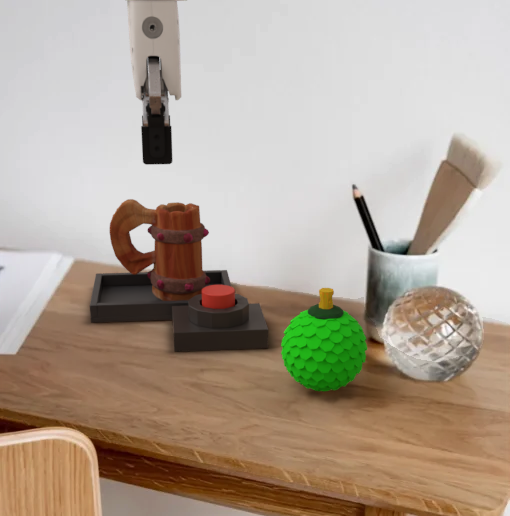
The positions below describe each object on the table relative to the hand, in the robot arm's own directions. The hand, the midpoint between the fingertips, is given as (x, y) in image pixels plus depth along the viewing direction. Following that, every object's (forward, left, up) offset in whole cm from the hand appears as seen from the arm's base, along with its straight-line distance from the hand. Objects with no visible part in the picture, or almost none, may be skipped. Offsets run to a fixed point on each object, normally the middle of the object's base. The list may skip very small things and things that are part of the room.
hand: (157, 155), depth 95 cm
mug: (0, 0, -17) cm, 17 cm away
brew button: (+6, -11, -14) cm, 19 cm away
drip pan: (0, 0, -18) cm, 18 cm away
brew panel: (+6, -11, -18) cm, 22 cm away
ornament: (+15, -25, -18) cm, 34 cm away
